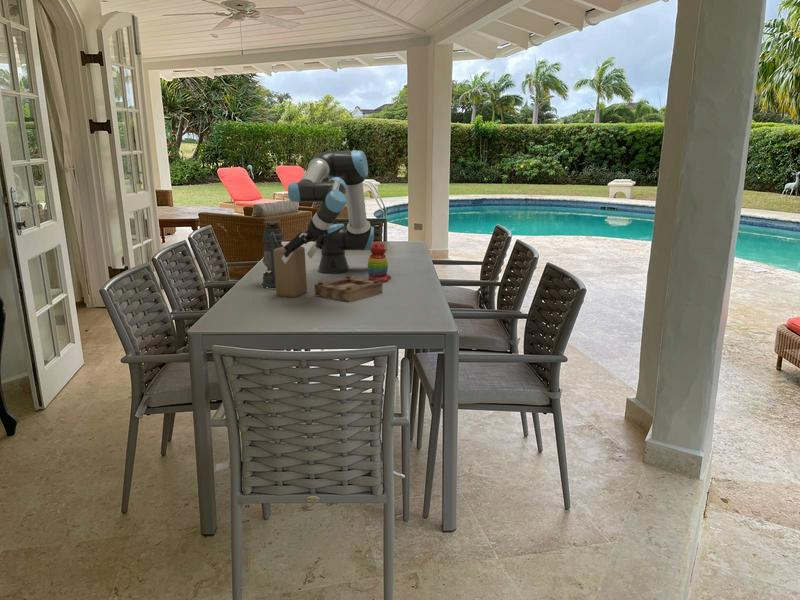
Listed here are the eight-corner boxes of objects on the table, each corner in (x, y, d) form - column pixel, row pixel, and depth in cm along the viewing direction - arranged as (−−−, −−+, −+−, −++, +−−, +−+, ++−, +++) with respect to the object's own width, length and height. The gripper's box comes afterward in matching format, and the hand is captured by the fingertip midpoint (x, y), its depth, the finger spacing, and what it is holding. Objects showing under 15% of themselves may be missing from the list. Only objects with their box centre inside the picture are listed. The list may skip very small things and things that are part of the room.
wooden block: (307, 292, 257) (305, 246, 252) (296, 298, 248) (293, 249, 243) (287, 291, 260) (284, 245, 256) (275, 296, 251) (272, 248, 246)
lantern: (262, 281, 280) (257, 217, 273) (293, 280, 283) (289, 216, 275) (261, 291, 261) (256, 221, 254) (294, 289, 264) (290, 220, 257)
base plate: (315, 295, 252) (314, 282, 251) (348, 286, 267) (348, 274, 266) (349, 302, 240) (348, 288, 239) (382, 292, 255) (382, 280, 253)
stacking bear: (386, 282, 275) (386, 244, 270) (365, 282, 277) (364, 243, 272) (391, 278, 285) (391, 240, 281) (371, 277, 287) (370, 240, 283)
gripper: (300, 234, 223) (277, 270, 236) (348, 227, 241) (323, 261, 254) (290, 219, 225) (267, 255, 238) (338, 213, 244) (314, 247, 256)
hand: (296, 258), depth 246 cm, fingers open, 13 cm apart
